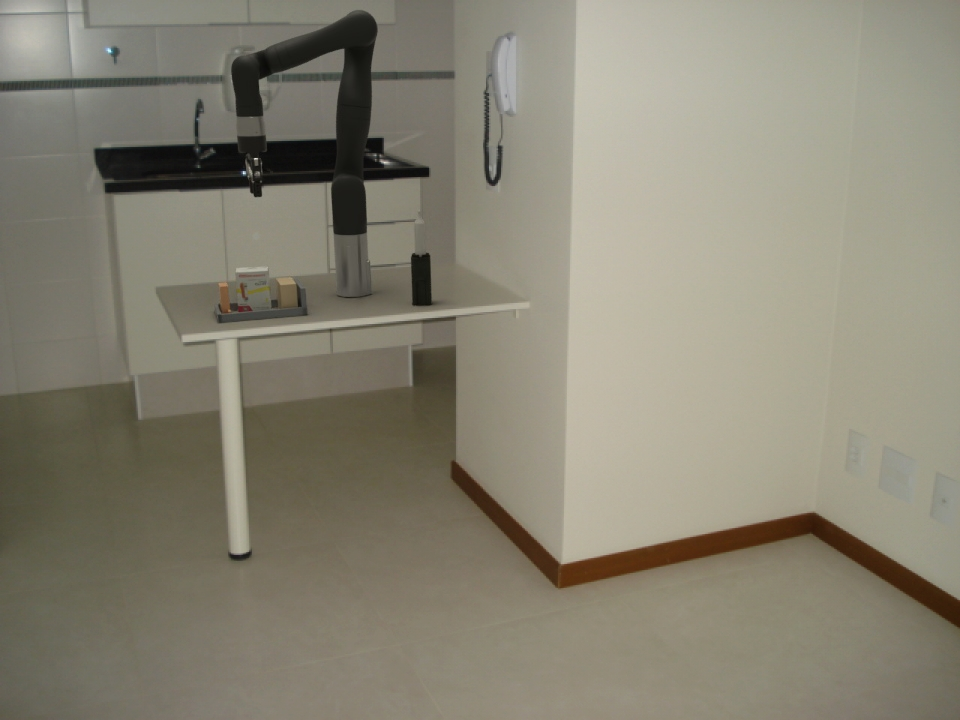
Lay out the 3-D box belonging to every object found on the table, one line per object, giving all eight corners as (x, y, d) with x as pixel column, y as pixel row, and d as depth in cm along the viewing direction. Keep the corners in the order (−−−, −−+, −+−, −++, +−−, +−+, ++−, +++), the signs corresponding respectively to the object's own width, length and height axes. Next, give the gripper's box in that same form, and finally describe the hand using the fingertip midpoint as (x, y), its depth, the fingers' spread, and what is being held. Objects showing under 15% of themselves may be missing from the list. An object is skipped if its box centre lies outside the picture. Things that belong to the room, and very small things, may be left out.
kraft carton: (293, 306, 268) (291, 277, 265) (298, 314, 259) (296, 283, 257) (278, 307, 266) (276, 278, 264) (282, 315, 258) (280, 285, 256)
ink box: (238, 316, 257) (234, 271, 254) (238, 312, 262) (234, 267, 258) (272, 314, 259) (268, 269, 256) (271, 310, 264) (268, 266, 260)
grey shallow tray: (299, 303, 270) (297, 278, 268) (307, 314, 258) (305, 288, 256) (214, 311, 263) (212, 285, 261) (218, 322, 251) (216, 295, 249)
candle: (431, 300, 271) (429, 208, 264) (431, 305, 266) (428, 211, 259) (412, 301, 271) (409, 208, 264) (412, 305, 266) (409, 211, 259)
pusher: (228, 310, 263) (225, 280, 261) (231, 319, 254) (228, 288, 251) (220, 310, 262) (217, 280, 260) (223, 320, 253) (220, 288, 251)
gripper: (269, 135, 261) (273, 197, 266) (262, 131, 274) (267, 191, 279) (239, 136, 259) (244, 199, 263) (234, 132, 272) (239, 193, 276)
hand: (256, 195), depth 271 cm, fingers open, 8 cm apart
